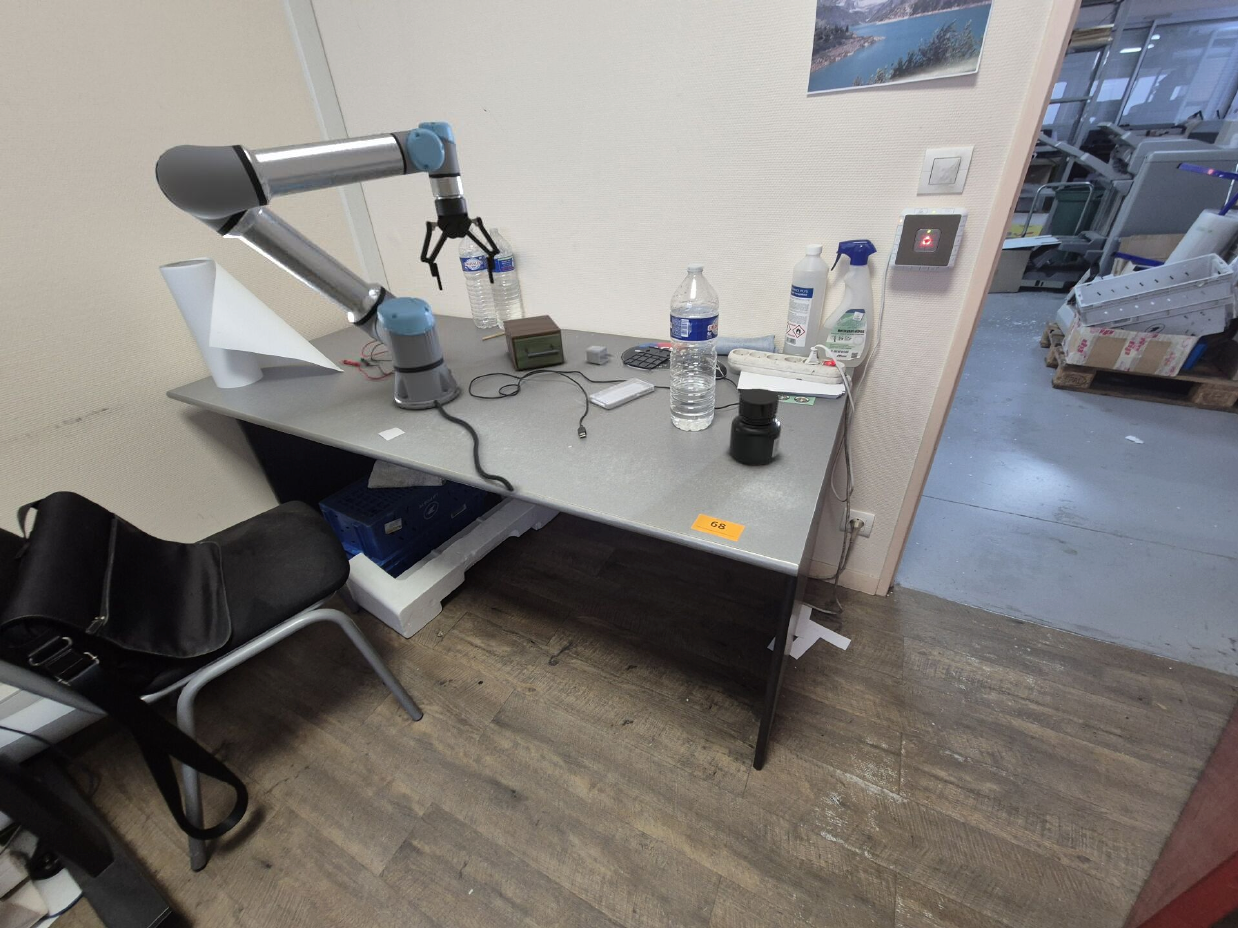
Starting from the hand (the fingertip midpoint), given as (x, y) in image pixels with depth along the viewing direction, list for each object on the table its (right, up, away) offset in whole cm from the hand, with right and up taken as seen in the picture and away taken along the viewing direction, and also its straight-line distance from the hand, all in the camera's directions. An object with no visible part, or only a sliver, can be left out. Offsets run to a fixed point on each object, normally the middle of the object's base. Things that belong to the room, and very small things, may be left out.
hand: (466, 286), depth 136 cm
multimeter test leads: (-27, -18, +15) cm, 35 cm away
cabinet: (+17, -17, +12) cm, 26 cm away
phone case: (+42, -32, -14) cm, 54 cm away
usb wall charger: (+36, -20, +6) cm, 42 cm away
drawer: (+18, -18, +7) cm, 27 cm away
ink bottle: (+67, -46, -40) cm, 90 cm away
